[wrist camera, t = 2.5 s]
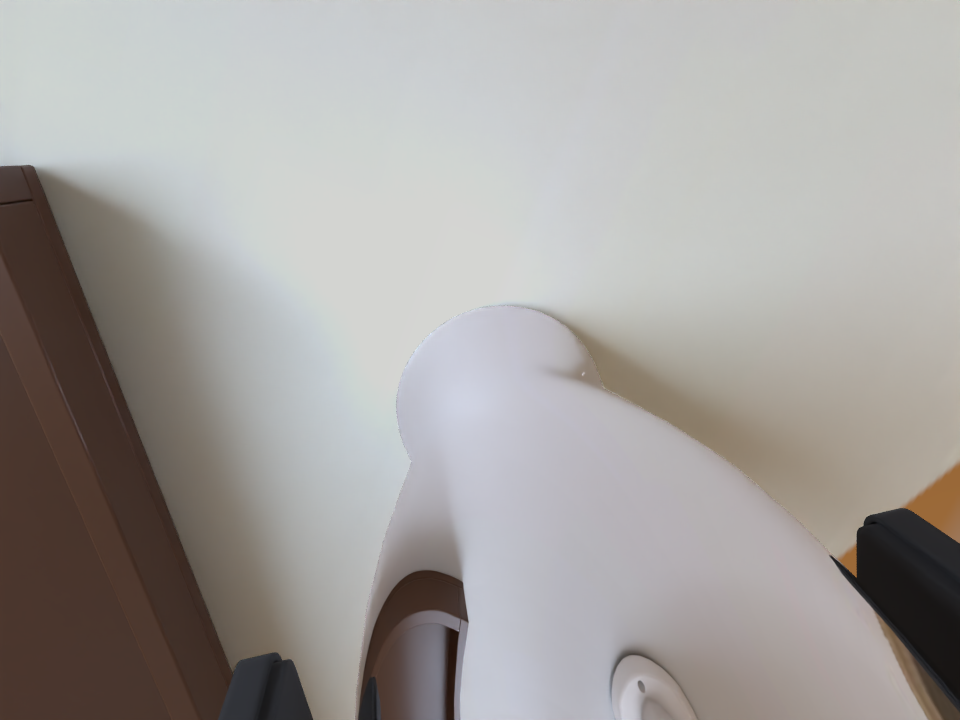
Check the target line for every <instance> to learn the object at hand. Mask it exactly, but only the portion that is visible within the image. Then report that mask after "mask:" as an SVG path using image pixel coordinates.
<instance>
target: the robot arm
mask: <svg viewBox="0 0 960 720" xmlns="http://www.w3.org/2000/svg"><path fill="white" fill-rule="evenodd" d="M857 579H858V580H859V581H860V582H861V583H862V584H863V585H864V586H865V587H866V588H867V589H868V590H869V591H870V592H871V594H872V595H873V596H874V597H875V598H876V599H877V600H878V601H879V602H880V603H881V605H882V606H883V607H884V608H885V609H886V610H887V611H888V612H889V613H890V614H891V616H892V617H893V618H894V619H895V620H896V621H897V622H898V623H899V624H900V625H901V627H902V628H903V629H904V630H905V631H906V632H907V633H908V634H909V635H910V636H911V638H912V639H913V640H914V641H915V642H916V643H917V644H918V645H919V646H920V647H921V649H922V650H923V651H924V652H925V653H926V654H927V655H928V656H929V657H930V658H931V660H932V661H933V662H934V663H935V664H936V665H937V666H938V667H939V668H940V670H941V671H942V672H943V673H944V674H945V675H946V676H947V678H948V679H949V680H950V681H951V682H952V683H953V684H954V686H955V687H956V688H957V689H958V690H959V691H960V544H959V543H958V542H956V541H955V540H953V539H952V538H950V537H949V536H948V535H946V534H945V533H943V532H941V531H940V530H939V529H937V528H936V527H934V526H933V525H931V524H930V523H928V522H927V521H925V520H924V519H922V518H921V517H920V516H918V515H917V514H915V513H914V512H912V511H910V510H908V509H905V508H899V509H895V510H891V511H886V512H882V513H878V514H873V515H870V516H868V517H866V519H865V521H864V526H863V527H860V528H859V529H858V531H857ZM218 720H313V718H312V715H311V712H310V709H309V706H308V703H307V700H306V697H305V694H304V691H303V688H302V685H301V682H300V679H299V676H298V673H297V670H296V667H295V665H294V663H293V661H292V660H291V659H288V660H283V661H282V659H281V656H280V655H279V654H278V653H275V652H274V653H270V654H266V655H261V656H257V657H253V658H248V659H244V660H241V661H239V662H238V664H237V666H236V668H235V671H234V674H233V677H232V680H231V683H230V686H229V688H228V691H227V694H226V697H225V700H224V703H223V706H222V709H221V712H220V715H219V718H218Z"/></svg>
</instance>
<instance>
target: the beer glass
mask: <svg viewBox="0 0 960 720" xmlns="http://www.w3.org/2000/svg"><path fill="white" fill-rule="evenodd" d="M396 414H397V423H398V428H399V432H400V436H401V439H402V442H403V445H404V447H405V449H406V452H407V454H408V456H409V458H410V460H411V464H410V467H409V470H408V472H407V475H406V478H405V480H404V483H403V486H402V488H401V491H400V494H399V497H398V500H397V502H396V505H395V508H394V511H393V514H392V517H391V520H390V522H389V525H388V528H387V531H386V534H385V537H384V540H383V544H382V548H381V552H380V556H379V560H378V563H377V567H376V571H375V575H374V579H373V583H372V587H371V590H370V594H369V599H368V603H367V609H366V615H365V623H364V631H363V639H362V647H361V655H360V663H359V671H358V680H357V688H356V704H355V720H960V691H959V690H958V689H957V688H956V687H955V686H954V684H953V683H952V682H951V681H950V680H949V679H948V678H947V676H946V675H945V674H944V673H943V672H942V671H941V670H940V668H939V667H938V666H937V665H936V664H935V663H934V662H933V661H932V660H931V658H930V657H929V656H928V655H927V654H926V653H925V652H924V651H923V650H922V649H921V647H920V646H919V645H918V644H917V643H916V642H915V641H914V640H913V639H912V638H911V636H910V635H909V634H908V633H907V632H906V631H905V630H904V629H903V628H902V627H901V625H900V624H899V623H898V622H897V621H896V620H895V619H894V618H893V617H892V616H891V614H890V613H889V612H888V611H887V610H886V609H885V608H884V607H883V606H882V605H881V603H880V602H879V601H878V600H877V599H876V598H875V597H874V596H873V595H872V594H871V592H870V591H869V590H868V589H867V588H866V587H865V586H864V585H863V584H862V583H861V582H860V581H859V580H858V579H857V578H856V577H855V576H854V575H853V574H852V573H851V572H850V571H849V570H848V569H847V568H846V567H845V566H844V565H843V564H842V563H841V562H840V561H839V560H838V559H837V558H836V557H835V556H834V555H833V554H832V553H831V552H830V551H829V550H828V549H827V548H826V547H825V546H824V545H823V544H822V543H821V542H820V541H819V540H818V539H817V538H816V537H815V536H814V535H813V534H812V533H811V532H810V531H809V530H808V529H807V528H806V527H805V526H804V525H803V524H802V523H801V522H800V521H799V520H798V519H796V518H795V517H794V516H793V515H792V514H791V513H790V512H788V511H787V510H786V509H785V508H784V507H783V506H781V505H780V504H779V503H778V502H777V501H776V500H774V499H773V498H772V497H771V496H770V495H769V494H767V493H766V492H765V491H764V490H763V489H762V488H760V487H759V486H758V485H757V484H756V483H755V482H753V481H752V480H751V479H750V478H749V477H748V476H747V475H745V474H744V473H743V472H742V471H741V470H739V469H738V468H737V467H736V466H734V465H733V464H732V463H730V462H729V461H728V460H726V459H725V458H723V457H722V456H720V455H719V454H717V453H716V452H714V451H713V450H711V449H709V448H708V447H706V446H705V445H703V444H702V443H700V442H699V441H697V440H696V439H694V438H693V437H691V436H690V435H688V434H687V433H685V432H684V431H682V430H680V429H679V428H677V427H676V426H674V425H672V424H671V423H669V422H667V421H665V420H663V419H661V418H660V417H658V416H656V415H654V414H652V413H650V412H649V411H647V410H645V409H643V408H641V407H639V406H638V405H636V404H634V403H632V402H630V401H628V400H626V399H624V398H622V397H620V396H618V395H616V394H614V393H612V392H610V391H608V390H607V389H605V388H603V384H602V381H601V378H600V375H599V372H598V370H597V367H596V365H595V363H594V361H593V359H592V357H591V355H590V353H589V352H588V350H587V349H586V347H585V346H584V344H583V343H582V342H581V341H580V339H579V338H578V337H577V336H576V335H575V334H574V333H573V332H572V331H571V330H570V329H569V328H568V327H566V326H565V325H564V324H562V323H561V322H559V321H558V320H556V319H555V318H553V317H551V316H549V315H547V314H544V313H542V312H539V311H536V310H533V309H529V308H524V307H518V306H508V305H498V306H487V307H481V308H477V309H473V310H470V311H467V312H464V313H462V314H459V315H457V316H455V317H453V318H451V319H449V320H448V321H446V322H444V323H443V324H441V325H440V326H439V327H437V328H436V329H435V330H433V331H432V332H431V333H430V334H429V335H428V336H427V337H426V338H425V339H424V340H423V341H422V342H421V343H420V344H419V346H418V347H417V348H416V350H415V351H414V352H413V354H412V355H411V357H410V359H409V360H408V362H407V364H406V366H405V368H404V371H403V373H402V376H401V379H400V382H399V387H398V392H397V400H396Z"/></svg>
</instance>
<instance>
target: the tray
mask: <svg viewBox="0 0 960 720" xmlns="http://www.w3.org/2000/svg"><path fill="white" fill-rule="evenodd" d="M232 677H233V675H232V673H231V670H230V667H229V665H228V662H227V660H226V657H225V655H224V652H223V649H222V647H221V644H220V642H219V639H218V637H217V634H216V632H215V629H214V626H213V624H212V621H211V619H210V616H209V614H208V611H207V609H206V606H205V603H204V601H203V598H202V596H201V593H200V591H199V588H198V586H197V583H196V580H195V578H194V575H193V573H192V570H191V568H190V565H189V563H188V560H187V557H186V555H185V552H184V550H183V547H182V545H181V542H180V540H179V537H178V534H177V532H176V529H175V527H174V524H173V522H172V519H171V517H170V514H169V511H168V509H167V506H166V504H165V501H164V499H163V496H162V494H161V491H160V488H159V486H158V483H157V481H156V478H155V476H154V473H153V471H152V468H151V465H150V463H149V460H148V458H147V455H146V453H145V450H144V448H143V445H142V442H141V440H140V437H139V435H138V432H137V430H136V427H135V425H134V422H133V419H132V417H131V414H130V412H129V409H128V407H127V404H126V402H125V399H124V396H123V394H122V391H121V389H120V386H119V384H118V381H117V379H116V376H115V373H114V371H113V368H112V366H111V363H110V361H109V358H108V356H107V353H106V350H105V348H104V345H103V343H102V340H101V338H100V335H99V332H98V330H97V327H96V325H95V322H94V320H93V317H92V315H91V312H90V309H89V307H88V304H87V302H86V299H85V297H84V294H83V292H82V289H81V286H80V284H79V281H78V279H77V276H76V274H75V271H74V269H73V266H72V263H71V261H70V258H69V256H68V253H67V251H66V248H65V246H64V243H63V240H62V238H61V235H60V233H59V230H58V228H57V225H56V223H55V220H54V217H53V215H52V212H51V210H50V207H49V205H48V202H47V200H46V197H45V194H44V192H43V189H42V187H41V184H40V182H39V179H38V177H37V174H36V171H35V169H34V167H33V166H30V165H26V166H0V720H218V718H219V715H220V712H221V709H222V706H223V703H224V700H225V697H226V694H227V691H228V688H229V686H230V683H231V680H232Z"/></svg>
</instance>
